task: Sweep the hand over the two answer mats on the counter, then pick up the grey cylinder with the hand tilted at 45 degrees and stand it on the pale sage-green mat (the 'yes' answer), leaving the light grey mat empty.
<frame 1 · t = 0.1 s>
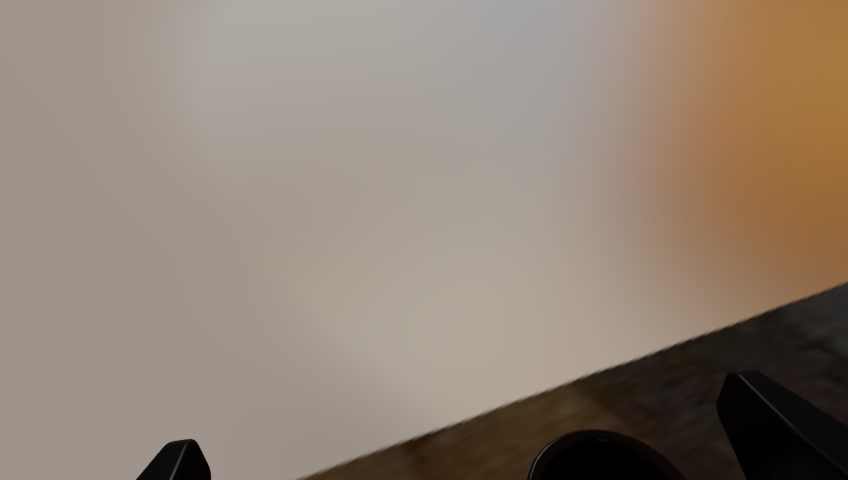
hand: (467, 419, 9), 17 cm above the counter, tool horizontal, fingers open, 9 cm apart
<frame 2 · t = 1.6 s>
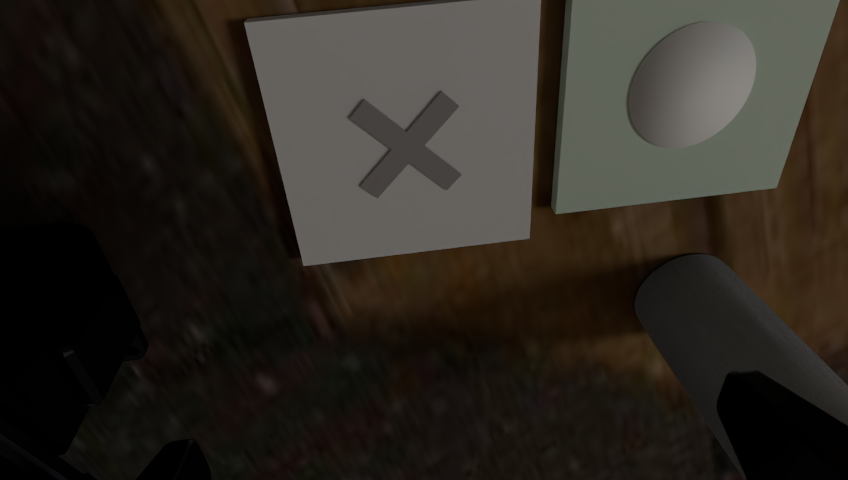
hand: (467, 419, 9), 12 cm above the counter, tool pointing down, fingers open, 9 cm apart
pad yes: (682, 82, 19), on the counter
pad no: (406, 139, 19), on the counter
grey cylinder: (678, 289, 25), on the counter
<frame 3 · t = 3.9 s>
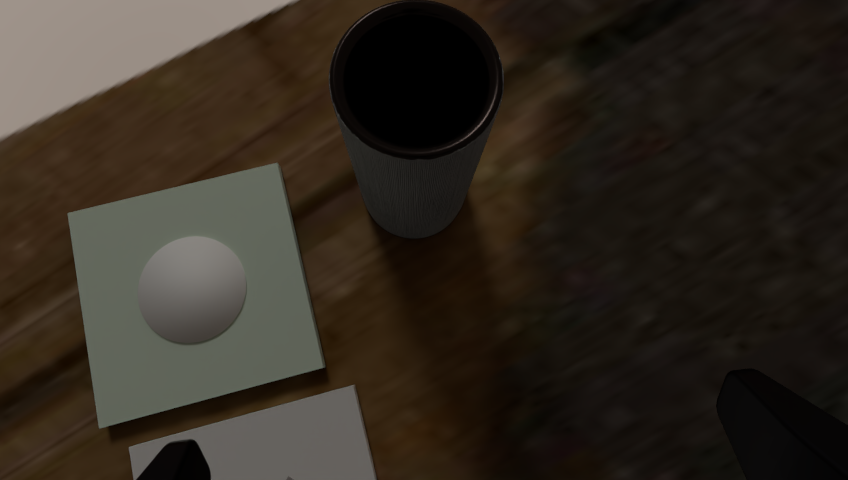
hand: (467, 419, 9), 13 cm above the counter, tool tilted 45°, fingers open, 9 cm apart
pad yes: (198, 290, 23), on the counter
grey cylinder: (413, 191, 24), on the counter
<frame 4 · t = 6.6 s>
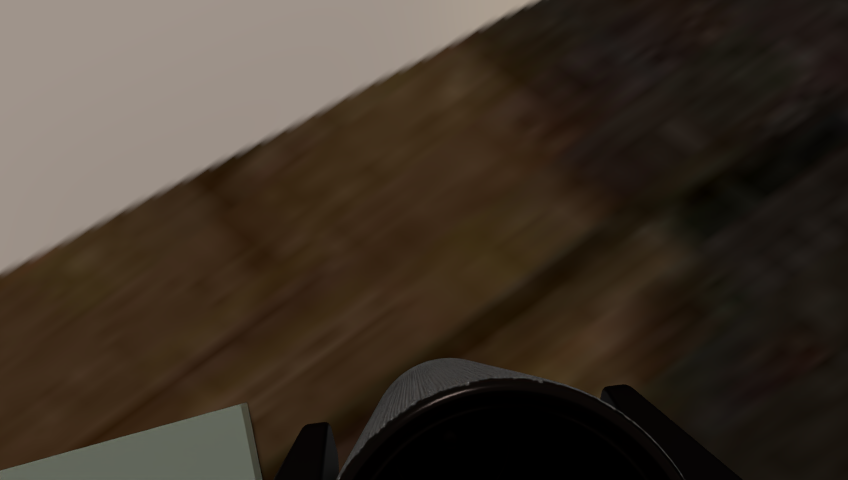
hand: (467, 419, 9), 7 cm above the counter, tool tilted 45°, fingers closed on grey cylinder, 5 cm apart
grey cylinder: (448, 435, 16), on the counter, touching gripper
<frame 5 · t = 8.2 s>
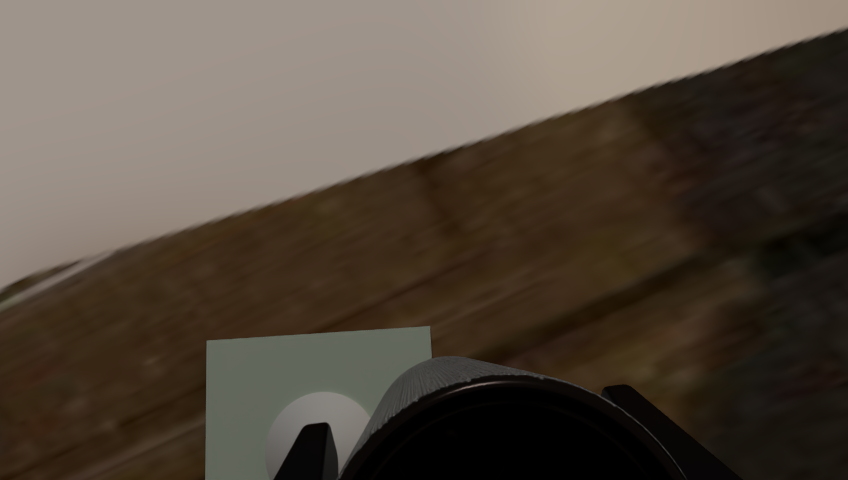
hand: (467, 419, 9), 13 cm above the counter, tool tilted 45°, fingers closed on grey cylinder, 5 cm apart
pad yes: (324, 447, 21), on the counter
grey cylinder: (449, 433, 16), point 6 cm above the counter, touching gripper
when the fingers open (8 cm above the counter, at t = 9.9 s): grey cylinder stays where it is, resting on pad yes.
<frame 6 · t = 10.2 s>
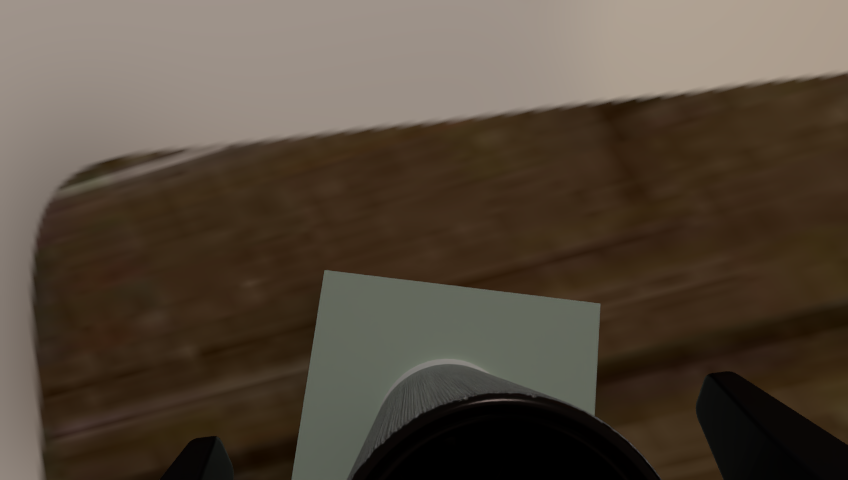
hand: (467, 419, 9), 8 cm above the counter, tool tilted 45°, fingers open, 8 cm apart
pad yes: (446, 428, 17), on the counter
grey cylinder: (447, 438, 16), point 1 cm above the counter, touching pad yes
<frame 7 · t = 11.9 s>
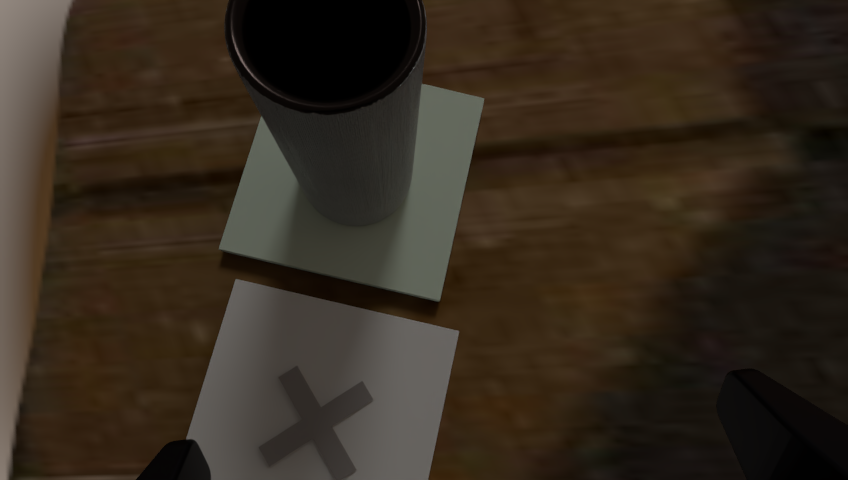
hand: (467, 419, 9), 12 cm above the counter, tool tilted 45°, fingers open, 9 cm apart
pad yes: (358, 175, 23), on the counter
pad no: (319, 420, 20), on the counter
grey cylinder: (357, 175, 22), point 1 cm above the counter, touching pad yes
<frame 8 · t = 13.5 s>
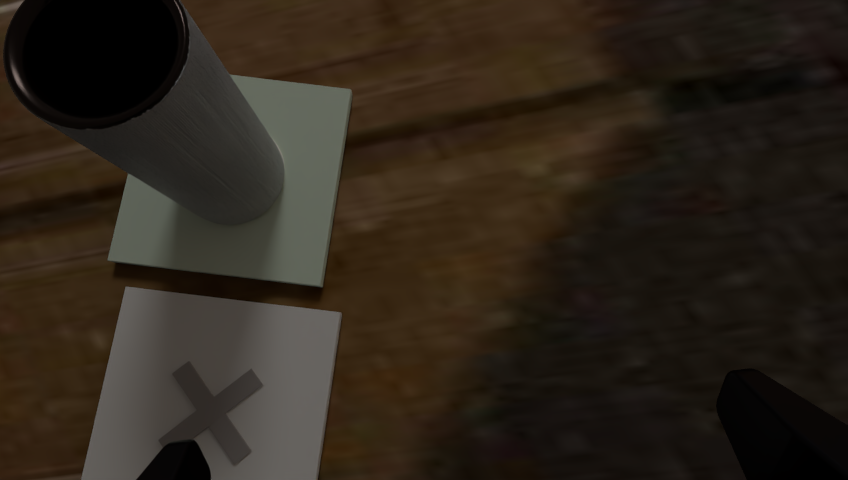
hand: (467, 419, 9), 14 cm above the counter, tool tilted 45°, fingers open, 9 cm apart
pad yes: (238, 175, 24), on the counter
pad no: (217, 409, 22), on the counter
grey cylinder: (234, 176, 23), point 1 cm above the counter, touching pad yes
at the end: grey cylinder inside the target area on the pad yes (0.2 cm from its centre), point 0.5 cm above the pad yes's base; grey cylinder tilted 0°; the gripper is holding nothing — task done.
